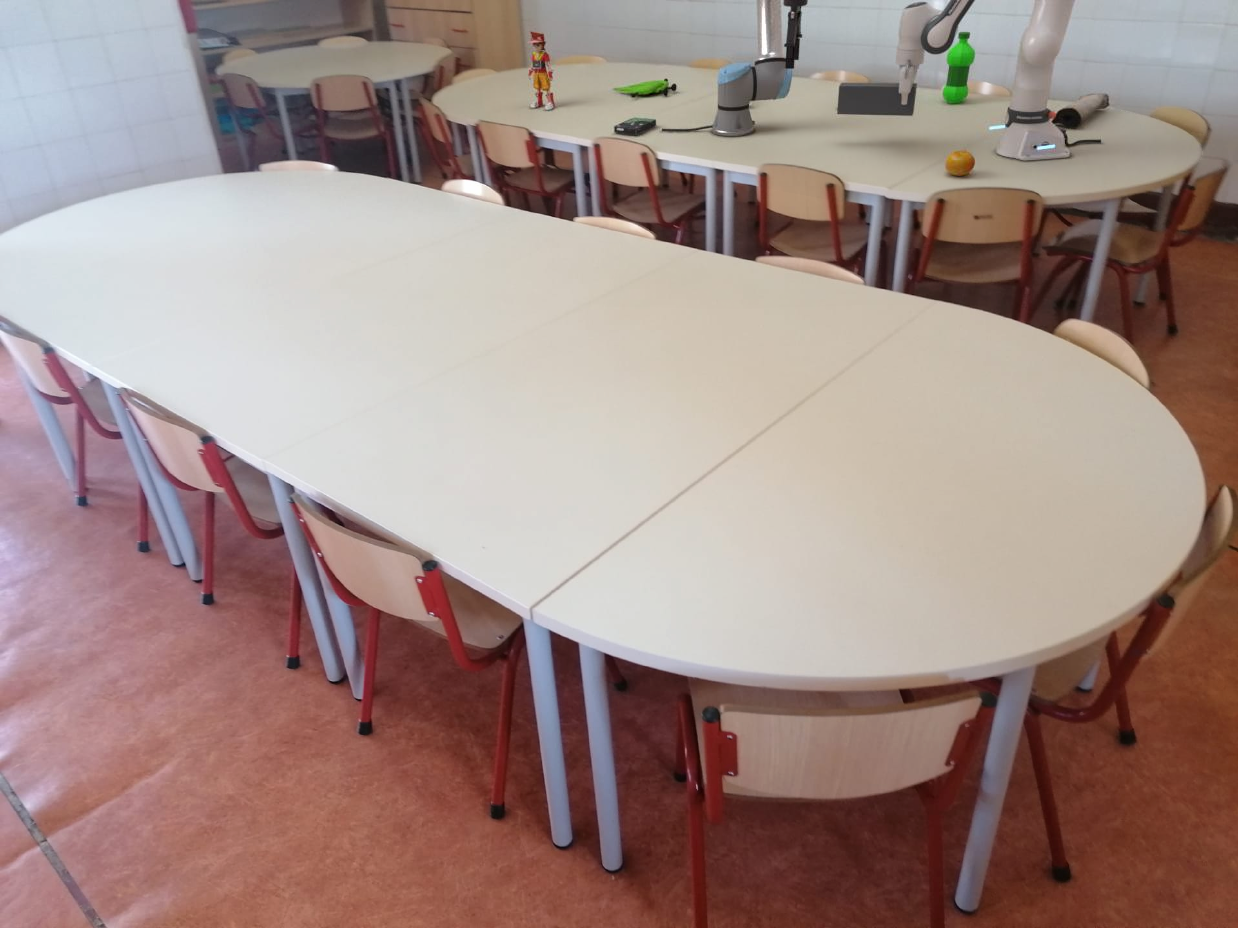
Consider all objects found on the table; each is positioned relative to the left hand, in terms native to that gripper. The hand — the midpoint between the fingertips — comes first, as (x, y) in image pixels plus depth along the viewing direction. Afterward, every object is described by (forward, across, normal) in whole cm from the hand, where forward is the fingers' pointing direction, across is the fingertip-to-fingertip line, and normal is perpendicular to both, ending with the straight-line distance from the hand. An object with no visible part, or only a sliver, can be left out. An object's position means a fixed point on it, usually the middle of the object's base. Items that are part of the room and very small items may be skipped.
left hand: (792, 64), depth 293 cm
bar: (+18, +14, -28) cm, 36 cm away
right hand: (+14, +13, -37) cm, 42 cm away
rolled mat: (+29, +53, -99) cm, 116 cm away
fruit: (+29, -18, -56) cm, 65 cm away
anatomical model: (+29, +67, +28) cm, 78 cm away
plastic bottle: (+29, +76, -56) cm, 99 cm away
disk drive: (+29, +26, +61) cm, 73 cm away
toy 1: (+29, +59, +111) cm, 129 cm away
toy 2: (+29, +88, +75) cm, 119 cm away
